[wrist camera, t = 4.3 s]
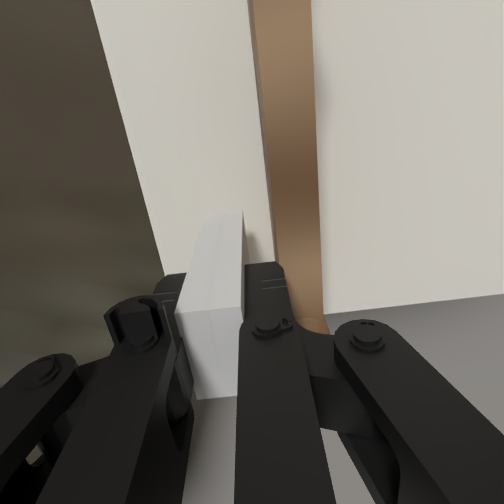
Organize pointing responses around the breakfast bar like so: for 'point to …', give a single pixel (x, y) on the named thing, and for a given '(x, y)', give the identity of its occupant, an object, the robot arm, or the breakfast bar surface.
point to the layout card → (328, 138)
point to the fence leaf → (290, 147)
